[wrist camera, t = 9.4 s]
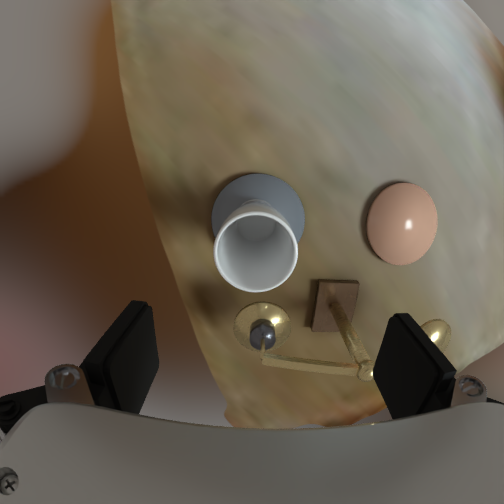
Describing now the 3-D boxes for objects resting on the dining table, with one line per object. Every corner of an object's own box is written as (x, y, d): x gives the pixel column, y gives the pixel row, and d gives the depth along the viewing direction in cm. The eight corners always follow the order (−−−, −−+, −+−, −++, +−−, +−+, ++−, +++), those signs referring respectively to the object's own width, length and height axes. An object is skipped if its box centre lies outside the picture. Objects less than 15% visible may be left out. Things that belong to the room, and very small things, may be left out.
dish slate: (214, 171, 36) (212, 171, 35) (306, 177, 36) (308, 177, 35) (211, 260, 39) (210, 262, 38) (299, 264, 39) (300, 267, 38)
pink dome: (371, 177, 36) (373, 177, 35) (438, 188, 36) (442, 189, 35) (360, 261, 39) (362, 263, 38) (426, 264, 39) (429, 266, 38)
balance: (238, 275, 40) (225, 355, 22) (418, 282, 40) (486, 341, 22) (236, 324, 42) (225, 415, 25) (406, 325, 42) (459, 393, 25)
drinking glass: (220, 207, 36) (196, 234, 22) (268, 183, 35) (276, 195, 21) (244, 253, 38) (236, 306, 24) (291, 231, 37) (312, 272, 23)
